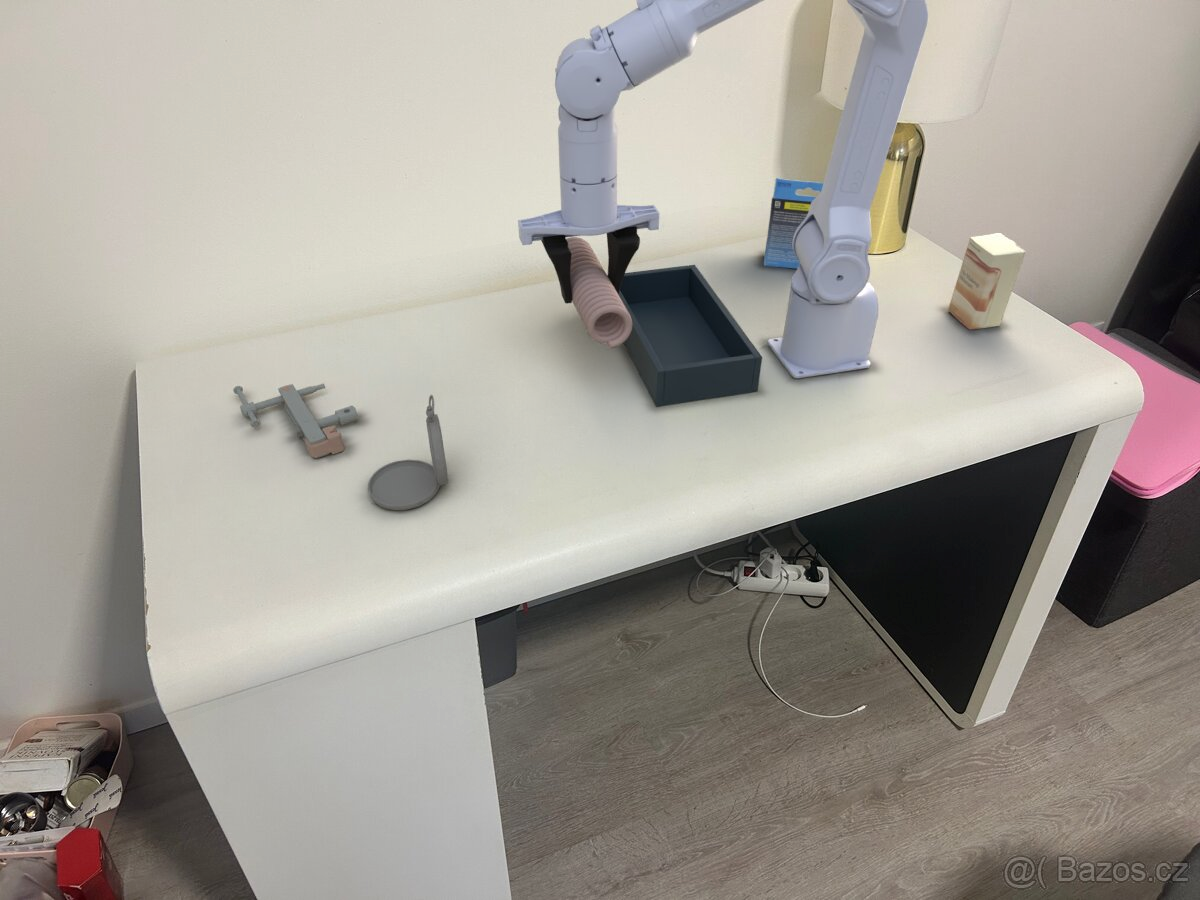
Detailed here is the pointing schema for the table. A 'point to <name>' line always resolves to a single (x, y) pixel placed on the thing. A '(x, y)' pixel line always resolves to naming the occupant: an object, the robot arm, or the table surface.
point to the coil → (596, 297)
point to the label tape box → (787, 220)
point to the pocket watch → (412, 474)
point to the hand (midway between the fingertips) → (590, 295)
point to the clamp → (304, 418)
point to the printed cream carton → (986, 280)
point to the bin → (686, 338)
